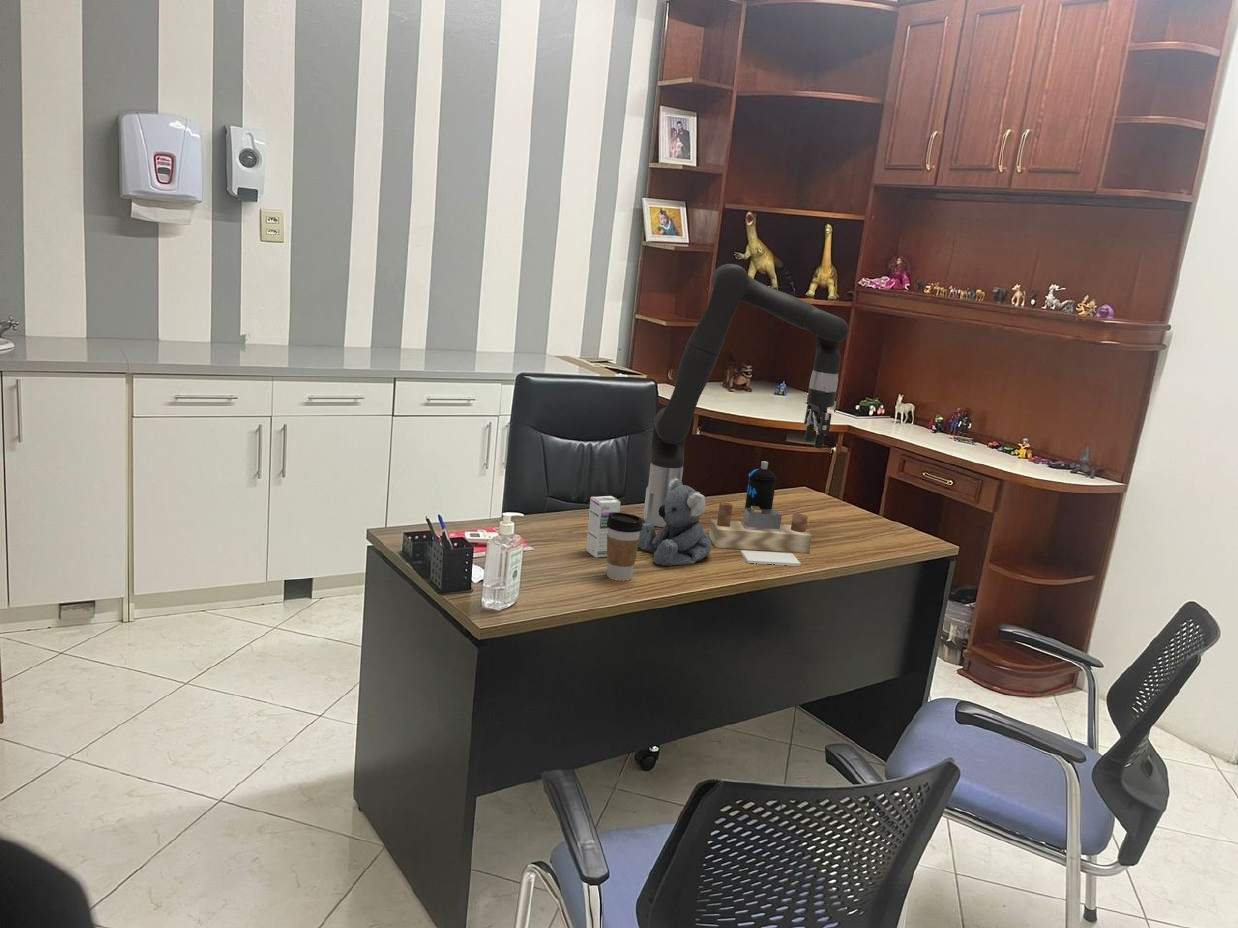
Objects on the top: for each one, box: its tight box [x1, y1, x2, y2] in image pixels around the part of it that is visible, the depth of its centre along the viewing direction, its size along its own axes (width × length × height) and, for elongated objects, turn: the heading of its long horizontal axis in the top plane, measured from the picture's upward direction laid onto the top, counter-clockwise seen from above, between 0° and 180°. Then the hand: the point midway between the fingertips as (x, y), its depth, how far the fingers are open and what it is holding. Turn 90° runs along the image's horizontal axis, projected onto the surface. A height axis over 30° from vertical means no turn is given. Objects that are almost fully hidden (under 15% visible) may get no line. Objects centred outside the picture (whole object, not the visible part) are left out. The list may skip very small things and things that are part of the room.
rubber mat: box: [740, 549, 801, 567], centre depth 249 cm, size 14×8×1 cm, turn 96°
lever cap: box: [742, 506, 783, 529], centre depth 259 cm, size 9×5×5 cm, turn 96°
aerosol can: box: [744, 460, 778, 510], centre depth 273 cm, size 8×8×20 cm
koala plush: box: [638, 478, 712, 567], centre depth 243 cm, size 17×18×20 cm
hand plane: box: [708, 501, 813, 554], centre depth 260 cm, size 26×9×11 cm, turn 96°
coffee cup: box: [606, 512, 643, 581], centre depth 224 cm, size 8×8×15 cm
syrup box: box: [585, 495, 621, 559], centre depth 239 cm, size 6×6×14 cm
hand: (813, 444), depth 269 cm, fingers open, 8 cm apart
